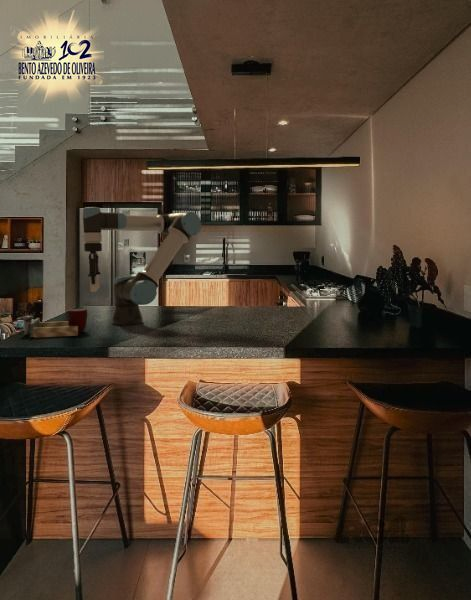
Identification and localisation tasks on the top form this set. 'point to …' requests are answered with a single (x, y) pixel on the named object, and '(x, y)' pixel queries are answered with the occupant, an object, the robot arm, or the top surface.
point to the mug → (77, 318)
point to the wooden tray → (52, 329)
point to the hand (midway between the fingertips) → (95, 290)
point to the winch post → (27, 324)
